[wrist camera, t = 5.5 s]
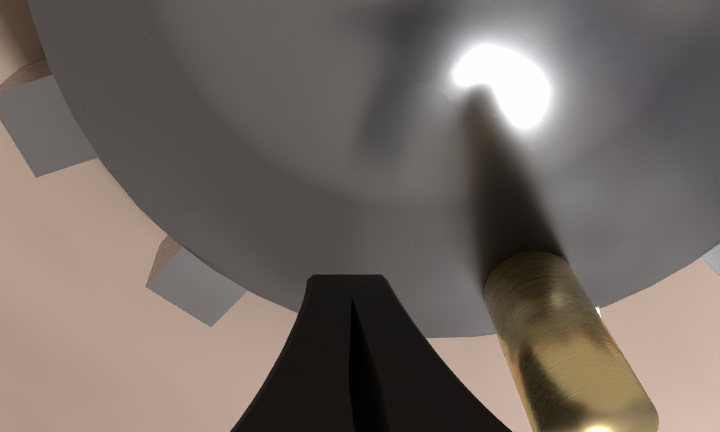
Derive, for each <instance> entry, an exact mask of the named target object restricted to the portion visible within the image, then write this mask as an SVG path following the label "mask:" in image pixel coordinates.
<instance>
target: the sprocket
mask: <svg viewBox="0 0 720 432" xmlns="http://www.w3.org/2000/svg"><path fill="white" fill-rule="evenodd" d="M27 4H28V7H29V10H30V13H31V16H32V19H33V22H34V25H35V28H36V31H37V34H38V37H39V40H40V43H41V46H42V48H43V51H44V54H45V57H46V59H45V60H42V61H39V62H36V63H33V64H30V65H27V66H24V67H21V68H19V69H18V70H17V71H16V72H15V73H14V74H12V75H11V76H10V77H9V78H8V79H7V80H5V81H4V82H3V83H2V84H1V85H0V120H1V122H2V123H3V125H4V126H5V128H6V130H7V131H8V133H9V134H10V136H11V138H12V139H13V141H14V143H15V144H16V146H17V147H18V149H19V151H20V152H21V154H22V155H23V157H24V159H25V160H26V162H27V164H28V165H29V167H30V168H31V170H32V172H33V173H34V175H35V176H36V177H39V176H42V175H45V174H48V173H51V172H54V171H58V170H61V169H64V168H67V167H70V166H73V165H76V164H79V163H82V162H85V161H88V160H91V159H94V158H98V157H99V158H100V160H101V161H102V163H103V164H104V166H105V167H106V168H107V169H108V171H109V172H110V173H111V174H112V175H113V177H114V178H115V179H116V180H117V182H118V183H119V184H120V185H121V186H122V188H123V189H124V190H125V191H126V192H127V194H128V195H129V196H130V197H131V198H132V200H133V201H134V202H135V203H136V204H137V206H138V207H139V208H140V209H141V210H142V211H143V212H145V213H146V214H147V215H148V216H149V217H150V218H151V219H152V220H153V221H154V222H155V223H156V224H157V225H158V226H159V227H160V228H161V229H162V230H163V231H165V232H166V233H167V234H168V236H167V237H166V238H165V239H164V240H163V242H162V243H161V244H160V246H159V249H158V252H157V255H156V258H155V261H154V263H153V266H152V269H151V272H150V275H149V278H148V281H147V284H146V287H147V288H148V289H150V290H152V291H153V292H155V293H156V294H158V295H160V296H161V297H163V298H165V299H166V300H168V301H169V302H171V303H173V304H174V305H176V306H177V307H179V308H181V309H182V310H184V311H186V312H187V313H189V314H190V315H192V316H194V317H195V318H197V319H198V320H200V321H202V322H203V323H205V324H207V325H208V326H210V327H212V326H213V325H214V324H215V323H216V322H217V321H218V320H219V319H220V318H221V317H222V316H223V315H224V314H225V313H226V312H227V311H228V310H229V309H230V308H231V307H232V306H233V305H234V304H235V303H236V302H237V301H238V300H239V299H240V298H241V297H242V296H243V295H244V294H245V293H246V292H247V291H250V292H252V293H254V294H255V295H258V296H260V297H262V298H265V299H267V300H269V301H272V302H274V303H276V304H278V305H281V306H283V307H285V308H288V309H290V310H292V311H295V312H297V313H299V311H300V308H301V305H302V302H303V299H304V295H305V290H306V283H307V279H308V278H310V277H311V276H312V275H313V274H382V275H383V276H384V277H385V278H386V279H387V280H388V282H389V284H390V286H391V287H392V289H393V291H394V293H395V294H396V296H397V298H398V299H399V301H400V302H401V304H402V306H403V307H404V309H405V310H406V312H407V313H408V315H409V316H410V318H411V319H412V321H413V322H414V323H415V325H416V326H417V328H418V329H419V330H420V332H421V333H422V334H423V336H424V337H425V338H444V337H476V336H484V335H491V334H497V337H498V340H499V342H500V345H501V348H502V350H503V353H504V356H505V358H506V361H507V364H508V366H509V369H510V371H511V374H512V377H513V379H514V382H515V385H516V387H517V390H518V393H519V395H520V398H521V401H522V403H523V406H524V409H525V411H526V414H527V417H528V419H529V422H530V424H531V427H532V430H533V432H657V430H658V424H659V420H658V414H657V411H656V409H655V407H654V405H653V403H652V402H651V400H650V398H649V397H648V395H647V393H646V392H645V390H644V388H643V387H642V385H641V383H640V382H639V380H638V378H637V377H636V375H635V373H634V372H633V370H632V368H631V367H630V365H629V363H628V362H627V360H626V358H625V357H624V355H623V353H622V352H621V350H620V349H619V347H618V345H617V344H616V342H615V340H614V339H613V337H612V335H611V334H610V332H609V330H608V329H607V327H606V325H605V324H604V322H603V320H602V319H601V317H600V311H599V308H602V307H605V306H608V305H610V304H612V303H615V302H617V301H619V300H621V299H623V298H626V297H628V296H630V295H632V294H635V293H637V292H639V291H641V290H644V289H646V288H648V287H650V286H652V285H654V284H656V283H657V282H659V281H661V280H663V279H664V278H666V277H668V276H670V275H671V274H673V273H675V272H677V271H678V270H680V269H682V268H684V267H686V266H687V265H689V264H691V263H693V262H694V261H696V260H697V259H698V258H700V257H701V258H702V259H703V260H704V261H705V262H706V263H707V264H708V265H709V266H710V267H711V268H712V269H713V270H714V271H715V272H716V273H717V274H718V275H719V276H720V0H27Z"/></svg>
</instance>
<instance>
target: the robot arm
mask: <svg viewBox="0 0 720 432" xmlns="http://www.w3.org/2000/svg"><path fill="white" fill-rule="evenodd" d="M230 432H512V431H511V430H510V429H509V428H508V427H506V426H505V425H504V424H503V423H502V422H501V421H500V420H499V419H497V418H496V417H495V416H494V415H493V414H492V413H491V412H490V411H489V410H488V409H487V408H486V407H485V406H484V405H483V404H482V403H481V402H480V401H479V400H478V399H477V398H476V397H475V396H474V395H473V394H472V393H471V392H470V391H469V390H468V389H467V388H466V386H465V385H464V384H463V383H462V382H461V381H460V380H459V379H458V378H457V376H456V375H455V374H454V373H453V372H452V371H451V370H450V368H449V367H448V366H447V365H446V364H445V363H444V361H443V360H442V359H441V358H440V356H439V355H438V354H437V353H436V352H435V350H434V349H433V348H432V346H431V345H430V344H429V342H428V341H427V340H426V338H425V337H424V336H423V334H422V333H421V332H420V330H419V329H418V328H417V326H416V325H415V323H414V322H413V321H412V319H411V318H410V316H409V315H408V313H407V312H406V310H405V309H404V307H403V306H402V304H401V302H400V301H399V299H398V298H397V296H396V294H395V293H394V291H393V289H392V287H391V286H390V284H389V282H388V280H387V279H386V278H385V277H384V276H383V275H382V274H313V275H312V276H311V277H310V278H308V279H307V283H306V290H305V295H304V299H303V302H302V305H301V308H300V311H299V313H298V316H297V319H296V321H295V323H294V326H293V328H292V330H291V332H290V334H289V337H288V339H287V341H286V343H285V345H284V347H283V349H282V351H281V353H280V355H279V357H278V359H277V361H276V362H275V364H274V366H273V368H272V369H271V371H270V373H269V375H268V377H267V378H266V380H265V382H264V383H263V385H262V387H261V388H260V390H259V391H258V393H257V395H256V396H255V398H254V399H253V401H252V402H251V404H250V405H249V407H248V408H247V409H246V411H245V412H244V414H243V415H242V416H241V418H240V419H239V421H238V422H237V423H236V425H235V426H234V427H233V428H232V430H231V431H230Z"/></svg>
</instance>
